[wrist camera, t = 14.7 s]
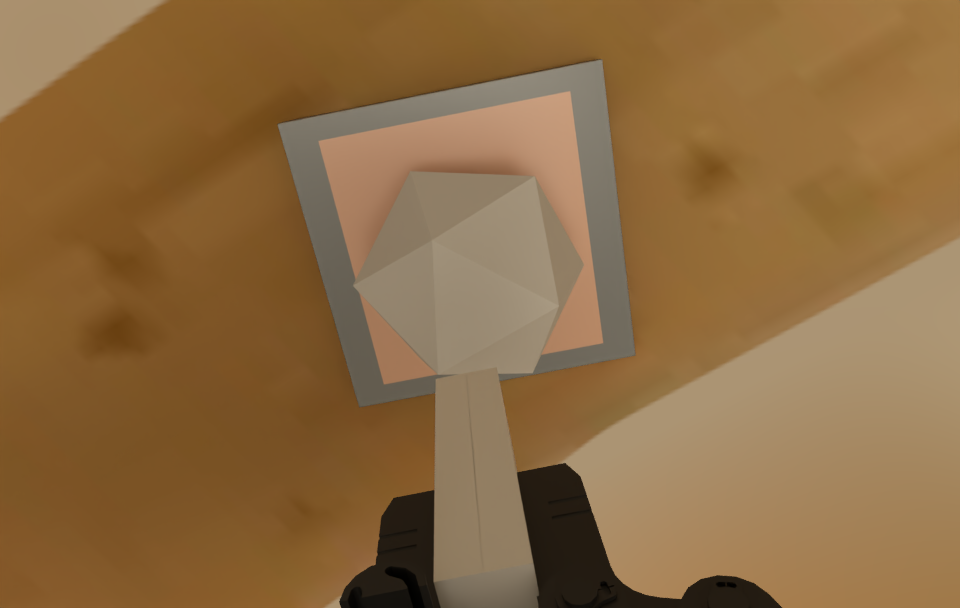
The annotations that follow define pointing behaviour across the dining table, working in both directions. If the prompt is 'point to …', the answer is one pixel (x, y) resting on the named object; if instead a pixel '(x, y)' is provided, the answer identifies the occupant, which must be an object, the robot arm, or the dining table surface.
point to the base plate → (476, 150)
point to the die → (471, 271)
